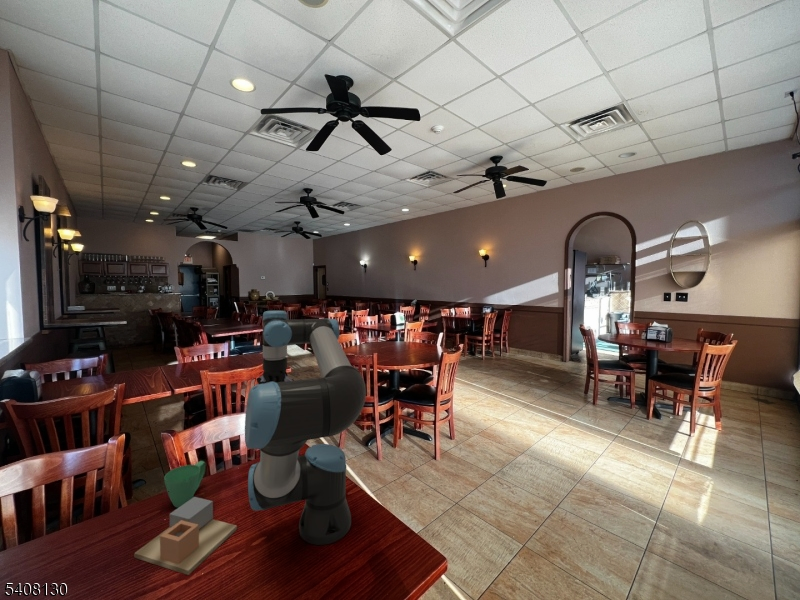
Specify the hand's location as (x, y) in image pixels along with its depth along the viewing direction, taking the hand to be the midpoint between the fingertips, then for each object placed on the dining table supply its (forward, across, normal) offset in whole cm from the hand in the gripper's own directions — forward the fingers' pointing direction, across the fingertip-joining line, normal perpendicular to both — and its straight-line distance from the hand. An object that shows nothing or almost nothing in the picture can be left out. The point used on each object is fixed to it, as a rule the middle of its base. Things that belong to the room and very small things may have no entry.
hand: (275, 428), depth 110 cm
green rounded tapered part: (+25, +28, +8) cm, 38 cm away
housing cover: (+23, +14, +19) cm, 33 cm away
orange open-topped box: (+23, +9, +27) cm, 37 cm away
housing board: (+24, +11, +23) cm, 35 cm away
